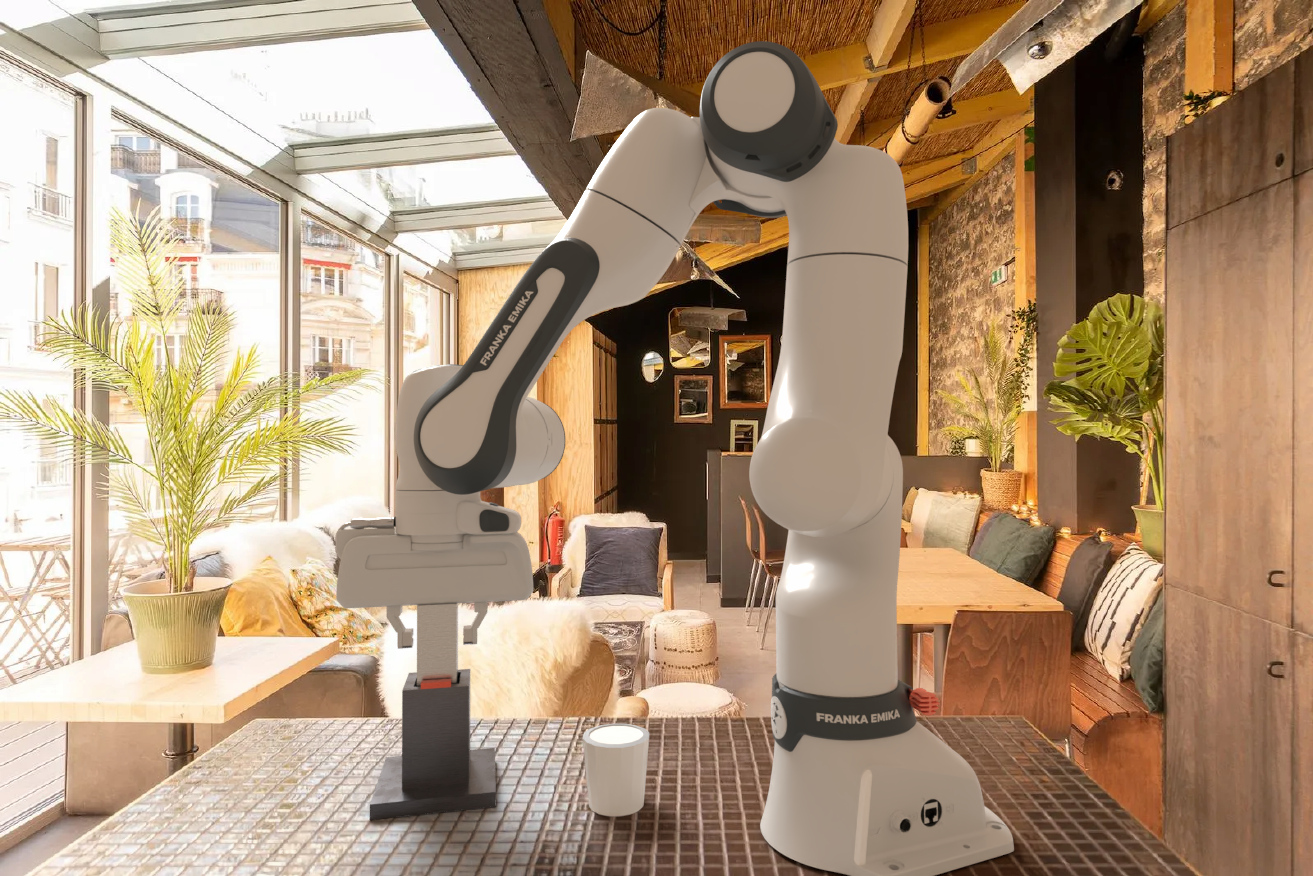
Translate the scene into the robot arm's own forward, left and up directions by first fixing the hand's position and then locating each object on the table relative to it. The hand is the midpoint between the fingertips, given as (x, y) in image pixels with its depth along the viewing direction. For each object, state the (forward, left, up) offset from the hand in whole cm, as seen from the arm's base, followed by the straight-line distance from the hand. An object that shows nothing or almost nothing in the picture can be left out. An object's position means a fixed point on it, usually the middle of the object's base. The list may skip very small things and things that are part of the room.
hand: (438, 645), depth 81 cm
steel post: (0, 0, -13) cm, 13 cm away
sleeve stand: (0, 0, -15) cm, 15 cm away
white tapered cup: (-18, +8, -15) cm, 25 cm away
